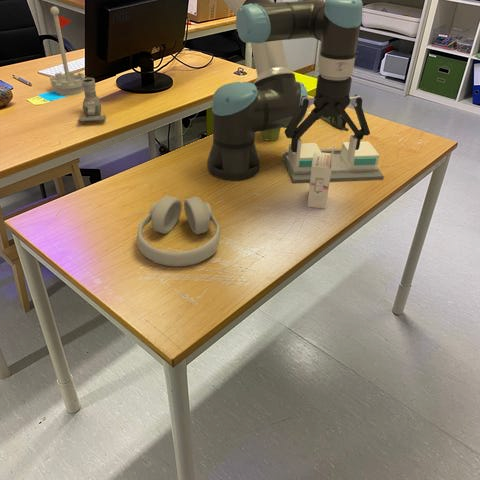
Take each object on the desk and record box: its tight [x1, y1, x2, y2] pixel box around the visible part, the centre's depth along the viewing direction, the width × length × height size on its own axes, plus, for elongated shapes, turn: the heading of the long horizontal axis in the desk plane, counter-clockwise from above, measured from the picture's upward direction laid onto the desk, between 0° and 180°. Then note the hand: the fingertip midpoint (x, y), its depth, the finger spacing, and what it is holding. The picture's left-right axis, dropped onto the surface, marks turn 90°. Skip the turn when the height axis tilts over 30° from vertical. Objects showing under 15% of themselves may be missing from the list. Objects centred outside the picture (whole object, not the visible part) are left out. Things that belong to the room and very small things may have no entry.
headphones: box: [136, 195, 221, 267], centre depth 105 cm, size 18×8×20 cm
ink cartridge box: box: [306, 142, 335, 210], centre depth 118 cm, size 9×5×15 cm, turn 168°
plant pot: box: [259, 128, 282, 142], centre depth 150 cm, size 9×9×9 cm
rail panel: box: [281, 141, 385, 184], centre depth 135 cm, size 26×16×6 cm, turn 97°
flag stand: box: [49, 6, 86, 97], centre depth 174 cm, size 13×13×30 cm
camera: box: [77, 77, 107, 122], centre depth 159 cm, size 9×12×15 cm
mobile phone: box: [320, 114, 350, 132], centre depth 162 cm, size 5×3×15 cm
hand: (323, 162), depth 116 cm, fingers open, 13 cm apart
